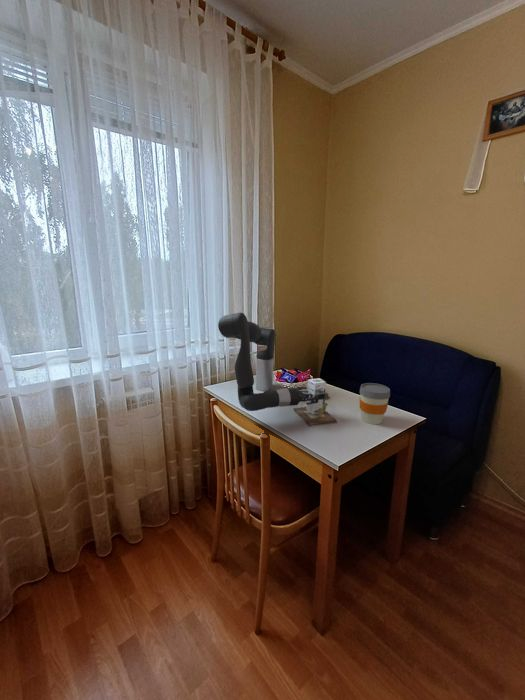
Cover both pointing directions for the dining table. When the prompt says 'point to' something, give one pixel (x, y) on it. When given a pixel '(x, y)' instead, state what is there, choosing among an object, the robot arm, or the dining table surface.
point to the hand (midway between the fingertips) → (320, 393)
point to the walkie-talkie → (325, 396)
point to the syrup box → (316, 388)
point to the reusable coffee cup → (373, 402)
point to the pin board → (315, 416)
